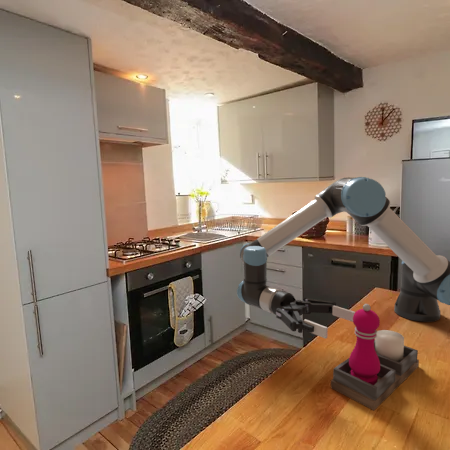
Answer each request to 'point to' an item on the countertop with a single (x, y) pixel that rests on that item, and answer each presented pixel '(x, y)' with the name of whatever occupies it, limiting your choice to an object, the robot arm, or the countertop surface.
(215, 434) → the countertop surface
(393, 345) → the white glossy dome
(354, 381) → the two-compartment tray
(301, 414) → the countertop surface
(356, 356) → the pepper mill
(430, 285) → the robot arm
